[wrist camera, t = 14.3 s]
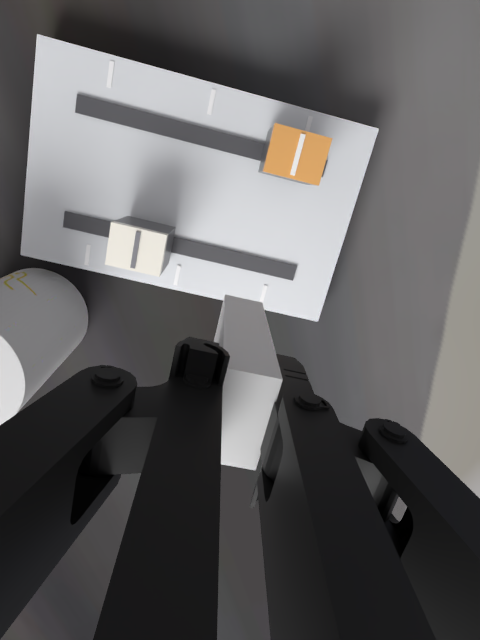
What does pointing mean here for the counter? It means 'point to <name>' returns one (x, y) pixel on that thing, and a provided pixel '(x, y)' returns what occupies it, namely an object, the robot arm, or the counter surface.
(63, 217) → the panel
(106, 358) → the counter surface
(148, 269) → the fader cream
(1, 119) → the counter surface
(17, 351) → the cup
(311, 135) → the fader orange
